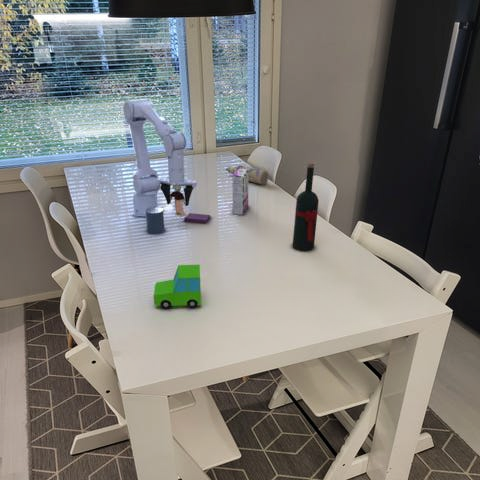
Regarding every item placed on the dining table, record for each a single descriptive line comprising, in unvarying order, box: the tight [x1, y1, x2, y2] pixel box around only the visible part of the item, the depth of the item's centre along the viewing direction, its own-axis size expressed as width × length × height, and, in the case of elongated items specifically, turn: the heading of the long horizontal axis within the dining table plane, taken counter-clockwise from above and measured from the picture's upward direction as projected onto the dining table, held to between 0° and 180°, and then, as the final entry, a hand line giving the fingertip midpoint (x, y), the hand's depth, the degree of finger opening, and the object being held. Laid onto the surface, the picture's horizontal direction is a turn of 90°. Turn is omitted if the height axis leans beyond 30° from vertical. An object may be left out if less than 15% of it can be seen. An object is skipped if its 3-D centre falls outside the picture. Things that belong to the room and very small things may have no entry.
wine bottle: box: [292, 162, 320, 252], centre depth 167 cm, size 8×10×30 cm
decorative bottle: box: [225, 164, 269, 186], centre depth 246 cm, size 26×8×7 cm, turn 47°
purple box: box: [183, 212, 211, 225], centre depth 198 cm, size 9×7×2 cm
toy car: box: [153, 264, 202, 310], centre depth 139 cm, size 10×13×10 cm
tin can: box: [145, 206, 166, 235], centre depth 185 cm, size 7×7×8 cm
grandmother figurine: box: [170, 185, 187, 217], centre depth 181 cm, size 8×4×13 cm, turn 65°
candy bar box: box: [232, 169, 249, 216], centre depth 204 cm, size 11×5×16 cm, turn 168°
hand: (177, 204), depth 183 cm, fingers closed on grandmother figurine, 6 cm apart
